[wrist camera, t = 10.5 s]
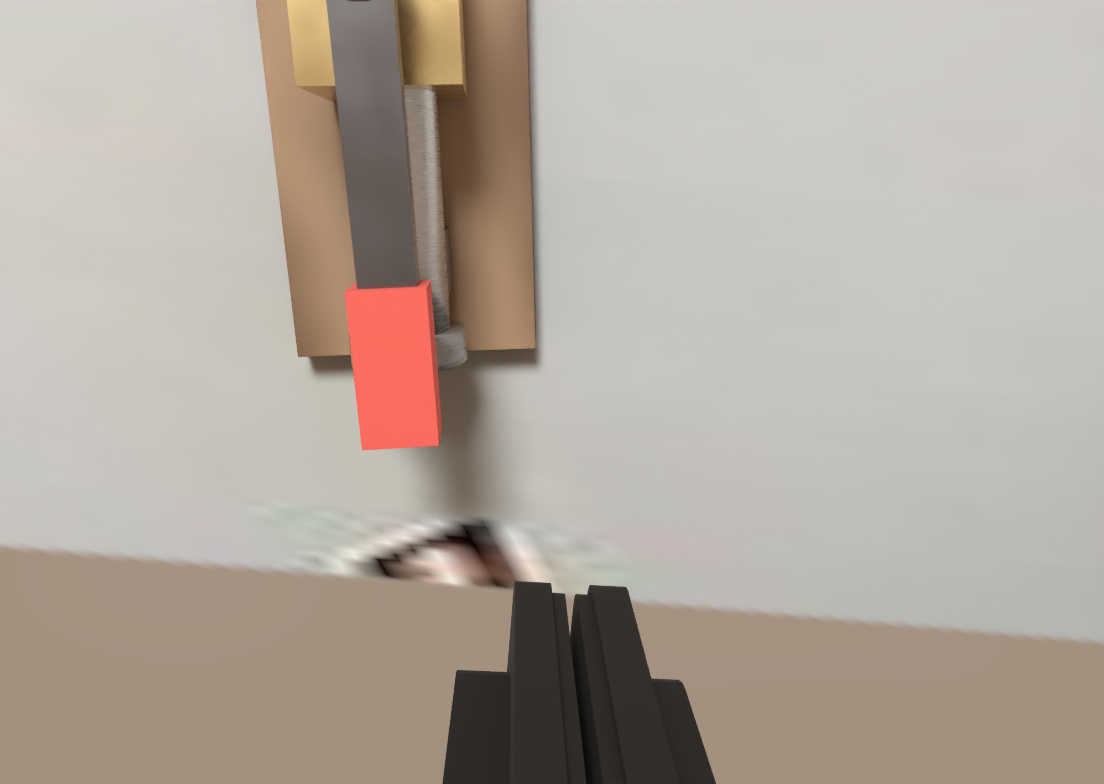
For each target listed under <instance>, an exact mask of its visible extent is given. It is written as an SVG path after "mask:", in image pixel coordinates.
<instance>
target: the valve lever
mask: <svg viewBox="0 0 1104 784" xmlns="http://www.w3.org/2000/svg"><path fill="white" fill-rule="evenodd" d="M326 3H327V13H328V22H329V31H330V41H331V50H332V60H333V69H334V78H335V88H336V97H337V106H338V116H339V125H340V135H341V144H342V153H343V163H344V172H345V181H346V191H347V200H348V209H349V219H350V228H351V238H352V247H353V256H354V266H355V275H356V283H355V284H353V285H352V286H351V287H350V288H349V289H347V290H346V291H345V301H346V310H347V319H348V328H349V337H350V346H351V355H352V364H353V373H354V382H355V391H356V400H357V409H358V418H359V427H360V436H361V444H362V450H375V449H392V448H409V447H427V446H439V443H440V437H441V432H442V416H441V404H440V391H439V378H438V365H437V353H436V340H435V327H434V314H433V302H432V289H431V280H420V273H419V261H418V249H417V236H416V224H415V212H414V200H413V188H412V176H411V164H410V152H409V139H408V127H407V115H406V103H405V91H404V79H403V67H402V55H401V42H400V30H399V18H398V6H397V0H326Z"/></svg>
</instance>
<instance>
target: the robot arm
mask: <svg viewBox="0 0 1104 784" xmlns="http://www.w3.org/2000/svg"><path fill="white" fill-rule="evenodd" d="M443 784H716V782H715V779H714V776H713V773H712V770H711V767H710V764H709V761H708V758H707V755H706V752H705V748H704V746H703V743H702V740H701V737H700V733H699V730H698V727H697V724H696V721H695V718H694V715H693V712H692V709H691V705H690V702H689V699H688V696H687V693H686V690H685V688H684V686H683V683H682V682H681V681H679V680H669V679H651V676H650V672H649V668H648V665H647V661H646V657H645V653H644V649H643V646H642V642H641V638H640V634H639V631H638V627H637V623H636V619H635V615H634V612H633V608H632V604H631V600H630V597H629V593H628V590H627V588H626V587H616V586H597V585H590V586H589V589H588V594H587V595H581V594H576V595H575V598H574V605H573V616H572V623H571V633H570V634H569V625H568V617H567V607H566V599H565V594H562V593H552V587H551V583H541V582H522V581H515V583H514V593H513V605H512V617H511V630H510V642H509V654H508V667H507V672H490V671H468V670H457V672H456V678H455V686H454V695H453V703H452V711H451V719H450V727H449V735H448V744H447V752H446V760H445V768H444V776H443Z"/></svg>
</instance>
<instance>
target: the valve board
mask: <svg viewBox="0 0 1104 784" xmlns="http://www.w3.org/2000/svg"><path fill="white" fill-rule="evenodd" d="M256 5H257V13H258V22H259V30H260V39H261V47H262V56H263V64H264V73H265V81H266V90H267V98H268V106H269V115H270V123H271V132H272V140H273V149H274V157H275V166H276V174H277V183H278V191H279V199H280V208H281V216H282V225H283V233H284V242H285V250H286V259H287V267H288V276H289V284H290V292H291V301H292V309H293V318H294V326H295V335H296V343H297V352H298V357H309V356H336V355H351V346H350V337H349V328H348V319H347V310H346V301H345V291H346V290H347V289H349V288H350V287H351V286H352V285H353V284H355V283H356V275H355V266H354V256H353V247H352V238H351V228H350V219H349V209H348V200H347V191H346V181H345V172H344V163H343V153H342V144H341V135H340V125H339V116H338V106H337V97H336V88H335V78H334V69H333V60H332V50H331V41H330V31H329V22H328V13H327V3H326V0H256ZM397 6H398V18H399V30H400V42H401V55H402V67H403V79H404V91H405V103H406V115H407V127H408V139H409V152H410V164H411V176H412V188H413V200H414V212H415V224H416V236H417V249H418V261H419V273H420V280H431V289H432V302H433V314H434V327H435V340H436V353H437V365H438V371H442V370H446V369H450V368H453V367H456V366H459V365H461V364H463V363H464V362H465V361H466V360H467V358H468V357H467V351H473V350H500V349H527V348H535V315H534V276H533V237H532V198H531V160H530V121H529V82H528V43H527V5H526V0H397ZM351 364H352V355H351ZM352 367H353V364H352Z"/></svg>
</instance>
